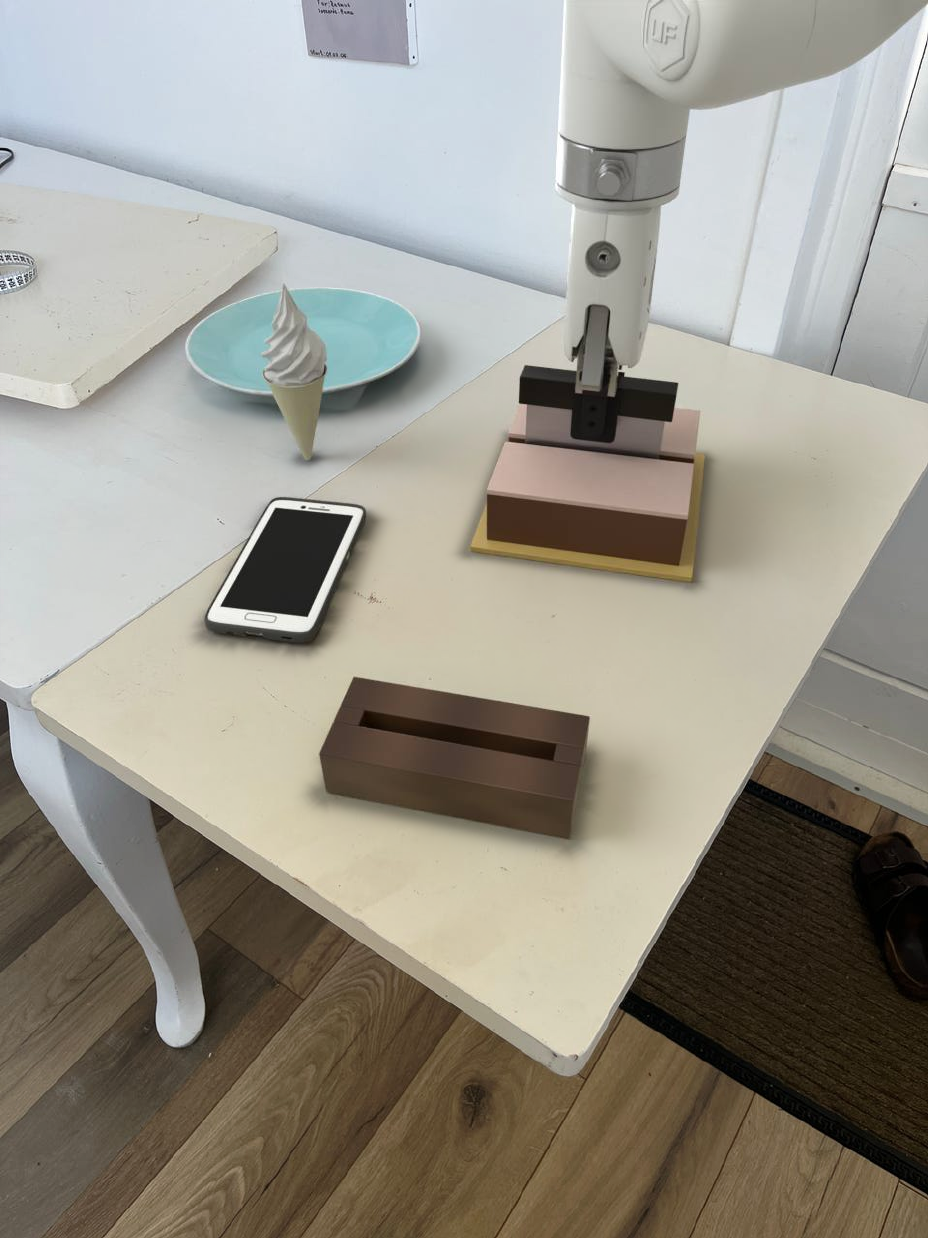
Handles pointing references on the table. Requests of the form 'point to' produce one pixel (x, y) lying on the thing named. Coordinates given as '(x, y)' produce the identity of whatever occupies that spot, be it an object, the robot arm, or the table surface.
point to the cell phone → (287, 570)
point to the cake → (597, 504)
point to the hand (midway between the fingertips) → (595, 428)
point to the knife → (636, 422)
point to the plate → (343, 318)
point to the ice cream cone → (296, 370)
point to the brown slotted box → (457, 756)
